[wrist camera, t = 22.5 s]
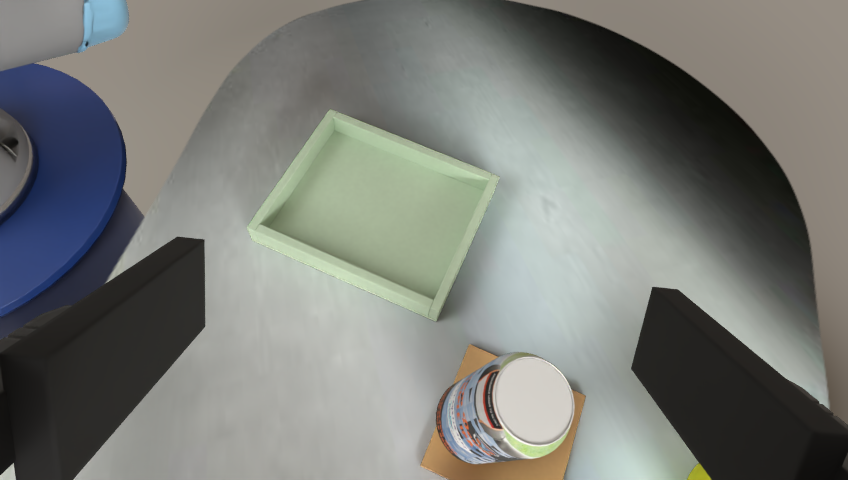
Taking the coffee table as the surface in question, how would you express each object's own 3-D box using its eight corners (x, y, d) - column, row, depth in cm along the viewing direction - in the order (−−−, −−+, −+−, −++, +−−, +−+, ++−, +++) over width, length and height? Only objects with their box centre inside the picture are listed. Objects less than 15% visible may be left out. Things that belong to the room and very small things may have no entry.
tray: (252, 240, 46) (246, 227, 44) (331, 124, 53) (329, 108, 51) (436, 322, 44) (439, 312, 42) (494, 190, 51) (500, 176, 48)
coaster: (420, 465, 39) (420, 465, 38) (468, 345, 43) (469, 343, 43) (548, 527, 37) (549, 527, 37) (584, 396, 42) (586, 395, 42)
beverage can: (438, 377, 41) (460, 329, 31) (530, 391, 41) (584, 348, 31) (428, 463, 38) (449, 442, 28) (528, 477, 38) (586, 462, 28)
